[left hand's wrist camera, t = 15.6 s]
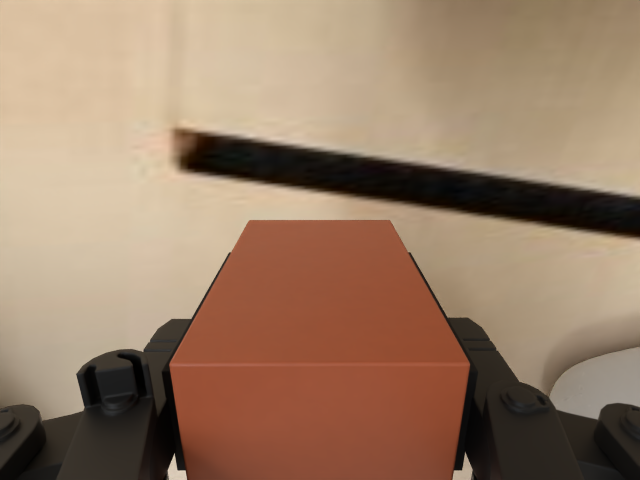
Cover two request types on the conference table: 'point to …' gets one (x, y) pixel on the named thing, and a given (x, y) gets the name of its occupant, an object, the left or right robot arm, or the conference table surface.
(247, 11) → the conference table surface
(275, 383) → the terracotta block
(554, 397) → the projector
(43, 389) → the conference table surface
